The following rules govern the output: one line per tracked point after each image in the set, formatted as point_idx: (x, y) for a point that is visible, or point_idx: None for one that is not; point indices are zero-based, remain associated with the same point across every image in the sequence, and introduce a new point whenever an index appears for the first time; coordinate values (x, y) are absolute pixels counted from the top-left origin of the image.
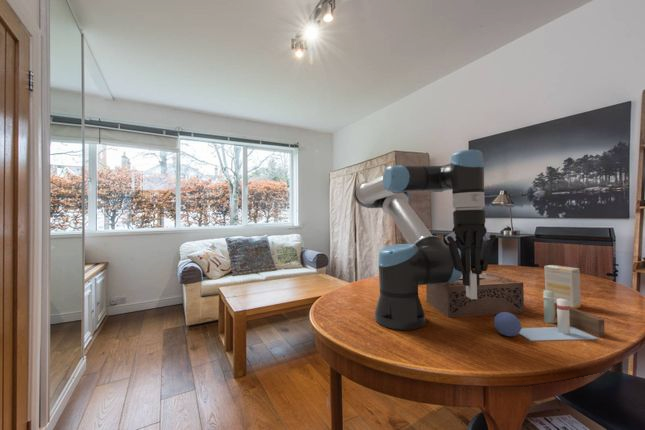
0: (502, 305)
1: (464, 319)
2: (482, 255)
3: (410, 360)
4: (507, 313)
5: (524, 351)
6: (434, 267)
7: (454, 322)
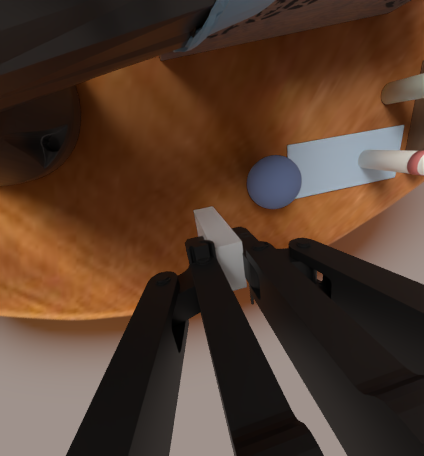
0: (349, 11)
1: (205, 82)
2: (368, 321)
3: (50, 305)
4: (286, 191)
5: None
6: (4, 91)
7: (170, 108)
